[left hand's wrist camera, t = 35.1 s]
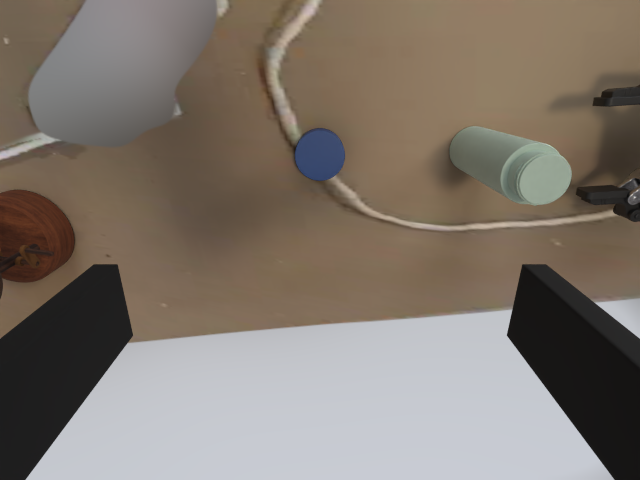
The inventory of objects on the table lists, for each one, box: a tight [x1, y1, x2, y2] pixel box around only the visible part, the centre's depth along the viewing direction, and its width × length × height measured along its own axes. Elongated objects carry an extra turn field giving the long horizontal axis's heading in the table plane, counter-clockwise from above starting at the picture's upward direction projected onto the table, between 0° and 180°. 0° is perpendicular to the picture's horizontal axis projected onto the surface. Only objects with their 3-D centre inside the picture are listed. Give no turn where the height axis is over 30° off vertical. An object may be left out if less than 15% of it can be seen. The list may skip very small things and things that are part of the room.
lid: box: [295, 128, 345, 181], centre depth 42 cm, size 5×5×2 cm
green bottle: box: [449, 126, 572, 206], centre depth 36 cm, size 5×5×15 cm
